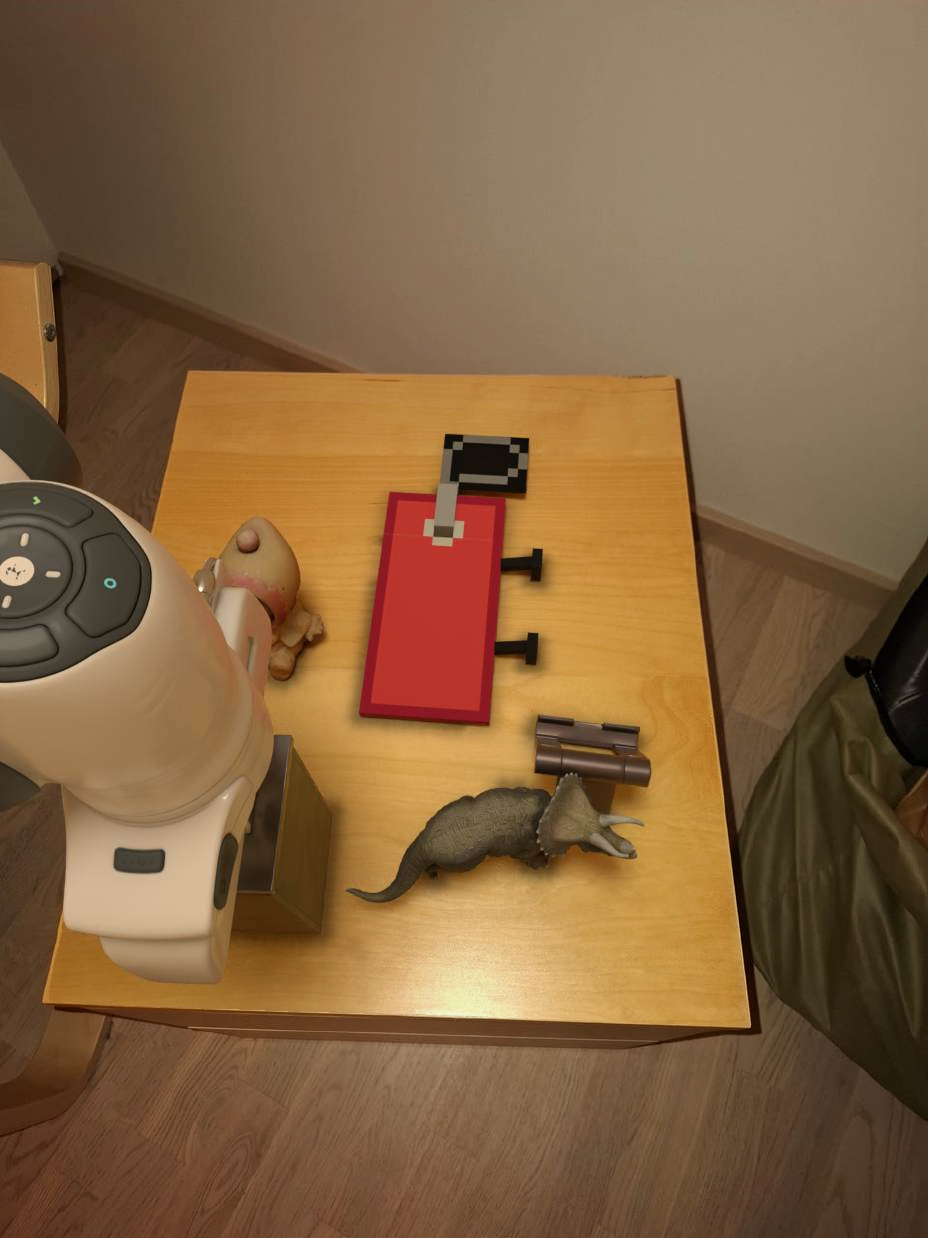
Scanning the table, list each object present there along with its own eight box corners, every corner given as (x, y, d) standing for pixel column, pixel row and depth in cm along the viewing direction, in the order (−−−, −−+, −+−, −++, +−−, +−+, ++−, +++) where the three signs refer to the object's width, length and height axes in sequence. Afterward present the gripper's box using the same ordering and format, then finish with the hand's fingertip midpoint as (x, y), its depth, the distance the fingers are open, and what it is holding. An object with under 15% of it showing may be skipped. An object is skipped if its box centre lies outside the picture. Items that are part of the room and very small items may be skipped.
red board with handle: (547, 444, 90) (399, 436, 91) (549, 427, 88) (396, 419, 88) (532, 730, 78) (360, 718, 78) (533, 719, 75) (356, 707, 76)
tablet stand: (638, 733, 77) (656, 699, 70) (633, 824, 74) (652, 798, 66) (536, 721, 78) (543, 685, 70) (527, 810, 75) (533, 783, 67)
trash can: (332, 813, 74) (290, 740, 57) (320, 934, 70) (271, 895, 53) (218, 809, 75) (142, 735, 57) (200, 930, 71) (111, 890, 53)
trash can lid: (294, 738, 56) (291, 734, 56) (275, 894, 52) (272, 892, 52) (142, 735, 57) (137, 731, 56) (111, 889, 53) (106, 887, 52)
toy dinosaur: (352, 913, 71) (333, 890, 61) (346, 808, 75) (327, 770, 65) (626, 881, 72) (651, 854, 62) (607, 779, 76) (628, 737, 66)
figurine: (202, 668, 80) (168, 553, 69) (233, 605, 85) (207, 488, 73) (309, 690, 79) (292, 578, 68) (335, 626, 84) (323, 511, 72)
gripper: (146, 539, 46) (214, 648, 58) (52, 967, 37) (157, 988, 49) (269, 543, 46) (311, 651, 58) (204, 973, 37) (271, 993, 49)
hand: (240, 809), depth 54 cm, fingers closed, pressing on trash can lid
